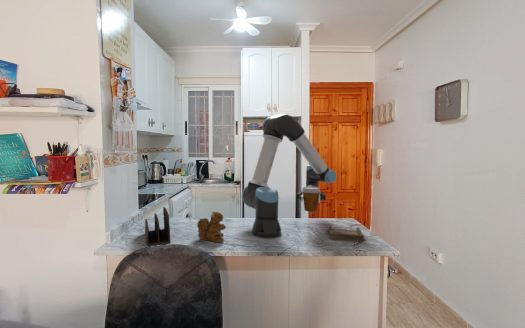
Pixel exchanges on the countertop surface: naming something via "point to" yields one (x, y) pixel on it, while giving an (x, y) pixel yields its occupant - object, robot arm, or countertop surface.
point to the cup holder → (346, 234)
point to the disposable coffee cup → (310, 198)
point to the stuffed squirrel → (211, 228)
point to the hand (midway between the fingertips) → (310, 199)
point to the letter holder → (158, 231)
